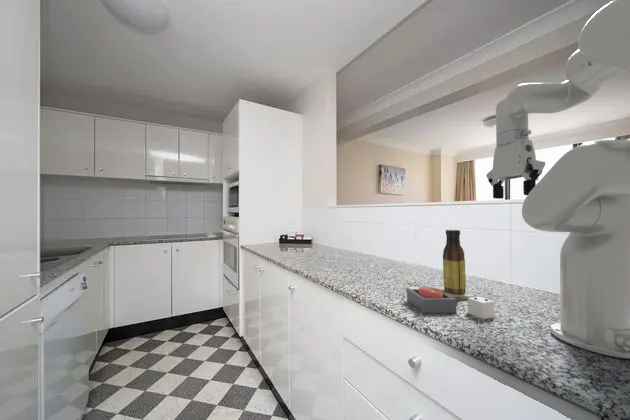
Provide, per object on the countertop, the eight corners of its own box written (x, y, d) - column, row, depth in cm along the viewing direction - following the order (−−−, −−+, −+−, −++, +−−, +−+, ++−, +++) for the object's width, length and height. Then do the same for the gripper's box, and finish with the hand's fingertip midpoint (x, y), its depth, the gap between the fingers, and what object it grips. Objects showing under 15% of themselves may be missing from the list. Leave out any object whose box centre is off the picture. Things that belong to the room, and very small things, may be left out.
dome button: (447, 304, 65) (447, 293, 65) (425, 305, 64) (425, 293, 64) (434, 297, 71) (434, 286, 71) (414, 297, 70) (414, 286, 70)
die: (494, 317, 61) (494, 300, 61) (482, 319, 60) (482, 301, 60) (479, 311, 65) (479, 295, 65) (467, 313, 64) (467, 296, 64)
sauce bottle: (459, 289, 81) (460, 229, 82) (470, 295, 75) (470, 230, 75) (439, 288, 82) (439, 229, 82) (447, 294, 75) (448, 230, 76)
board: (477, 299, 74) (477, 296, 74) (421, 300, 73) (421, 296, 73) (455, 289, 84) (455, 287, 84) (406, 290, 82) (406, 287, 83)
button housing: (456, 312, 63) (456, 299, 64) (423, 313, 63) (423, 299, 63) (436, 300, 72) (436, 288, 72) (407, 301, 72) (407, 289, 72)
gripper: (554, 130, 65) (556, 194, 64) (497, 149, 82) (498, 199, 81) (530, 128, 64) (532, 193, 63) (477, 147, 81) (478, 199, 80)
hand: (512, 196), depth 72 cm, fingers open, 9 cm apart
